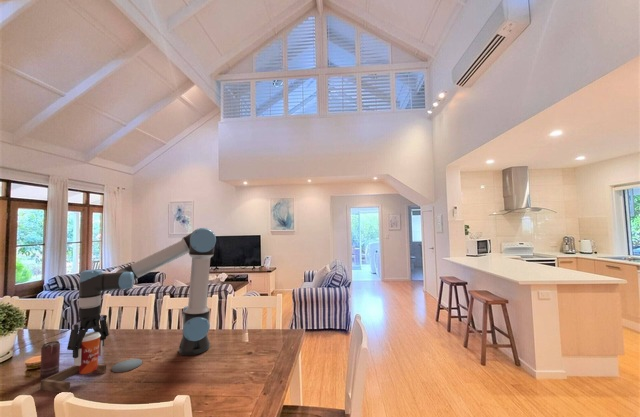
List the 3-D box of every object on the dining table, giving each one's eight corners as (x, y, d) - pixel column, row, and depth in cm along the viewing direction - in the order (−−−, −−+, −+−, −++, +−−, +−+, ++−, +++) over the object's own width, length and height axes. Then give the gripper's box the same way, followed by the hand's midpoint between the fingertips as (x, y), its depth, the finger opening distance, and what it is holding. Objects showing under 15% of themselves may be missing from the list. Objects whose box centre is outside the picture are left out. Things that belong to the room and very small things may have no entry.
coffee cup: (86, 376, 116) (87, 338, 117) (70, 374, 118) (71, 337, 119) (105, 366, 125) (106, 331, 125) (90, 364, 126) (91, 330, 127)
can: (42, 380, 123) (44, 347, 123) (38, 376, 126) (39, 344, 127) (61, 374, 128) (62, 342, 129) (56, 370, 131) (57, 339, 132)
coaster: (148, 361, 139) (148, 359, 139) (126, 373, 127) (126, 372, 127) (127, 359, 142) (127, 357, 142) (104, 371, 130) (104, 369, 130)
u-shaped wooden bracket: (106, 372, 129) (106, 364, 129) (66, 393, 113) (66, 384, 113) (82, 369, 132) (82, 361, 132) (40, 389, 116) (40, 380, 116)
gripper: (106, 299, 134) (105, 348, 133) (55, 313, 114) (53, 371, 112) (119, 300, 132) (118, 350, 131) (70, 314, 112) (68, 373, 110)
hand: (88, 359), depth 122 cm, fingers closed on coffee cup, 8 cm apart
